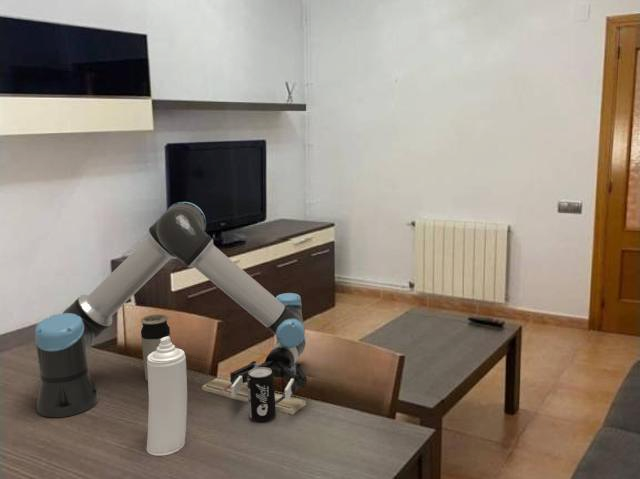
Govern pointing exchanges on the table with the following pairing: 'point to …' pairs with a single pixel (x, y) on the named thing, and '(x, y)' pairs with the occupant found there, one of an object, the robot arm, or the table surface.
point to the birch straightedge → (224, 389)
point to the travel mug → (153, 335)
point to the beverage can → (261, 394)
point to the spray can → (166, 399)
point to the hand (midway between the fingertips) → (259, 393)
